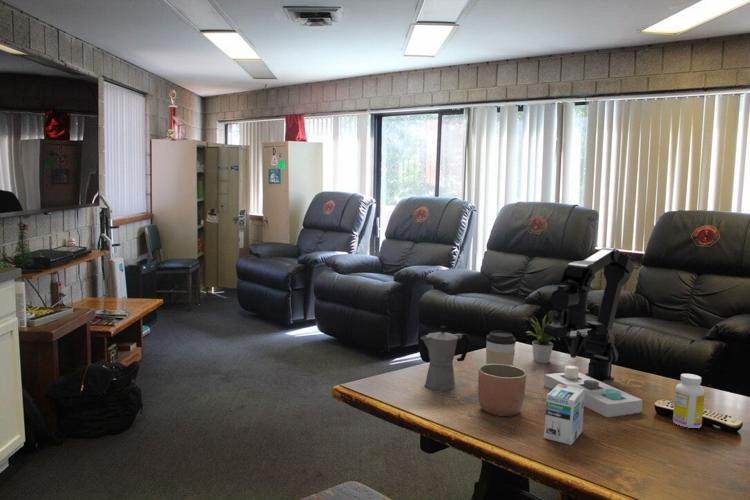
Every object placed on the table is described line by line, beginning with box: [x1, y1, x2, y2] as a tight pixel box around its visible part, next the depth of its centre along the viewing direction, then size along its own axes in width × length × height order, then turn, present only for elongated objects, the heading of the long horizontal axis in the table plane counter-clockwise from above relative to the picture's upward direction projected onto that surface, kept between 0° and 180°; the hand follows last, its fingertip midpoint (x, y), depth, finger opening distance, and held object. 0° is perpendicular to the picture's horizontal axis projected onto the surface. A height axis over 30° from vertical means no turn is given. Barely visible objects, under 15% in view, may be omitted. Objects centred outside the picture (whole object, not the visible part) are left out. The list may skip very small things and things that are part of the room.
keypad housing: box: [543, 372, 644, 418], centre depth 172 cm, size 12×26×4 cm, turn 22°
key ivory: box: [563, 365, 580, 381], centre depth 180 cm, size 4×4×4 cm
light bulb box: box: [543, 384, 585, 446], centre depth 145 cm, size 11×7×11 cm, turn 148°
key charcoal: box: [584, 380, 599, 390], centre depth 172 cm, size 4×4×4 cm
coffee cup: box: [485, 329, 517, 366], centre depth 185 cm, size 9×9×15 cm
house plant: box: [521, 314, 561, 364], centre depth 208 cm, size 14×14×16 cm
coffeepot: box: [420, 325, 472, 392], centre depth 177 cm, size 15×9×18 cm, turn 101°
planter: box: [477, 364, 528, 417], centre depth 159 cm, size 12×12×11 cm
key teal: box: [605, 389, 621, 400], centre depth 164 cm, size 4×4×4 cm
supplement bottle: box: [672, 373, 705, 429], centre depth 155 cm, size 7×7×13 cm
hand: (573, 357), depth 179 cm, fingers closed
